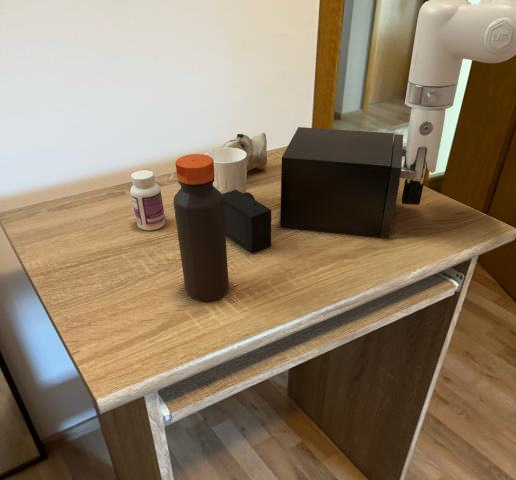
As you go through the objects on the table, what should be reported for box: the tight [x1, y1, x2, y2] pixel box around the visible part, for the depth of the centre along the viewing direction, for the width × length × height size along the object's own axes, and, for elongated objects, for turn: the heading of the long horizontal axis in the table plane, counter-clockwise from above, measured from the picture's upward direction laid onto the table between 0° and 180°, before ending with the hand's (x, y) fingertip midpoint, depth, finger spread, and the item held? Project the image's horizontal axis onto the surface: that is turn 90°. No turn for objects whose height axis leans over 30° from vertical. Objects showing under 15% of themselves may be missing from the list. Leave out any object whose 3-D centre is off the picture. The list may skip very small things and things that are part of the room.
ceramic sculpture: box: [221, 132, 268, 172], centre depth 107 cm, size 11×9×15 cm
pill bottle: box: [130, 169, 166, 231], centre depth 89 cm, size 5×5×10 cm
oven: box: [279, 126, 395, 238], centre depth 90 cm, size 18×16×13 cm
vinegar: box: [173, 153, 230, 302], centre depth 69 cm, size 7×7×20 cm
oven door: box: [379, 133, 417, 239], centre depth 88 cm, size 4×16×13 cm, turn 166°
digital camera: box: [222, 190, 272, 254], centre depth 85 cm, size 10×5×7 cm, turn 37°
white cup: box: [204, 147, 248, 194], centre depth 94 cm, size 8×8×10 cm
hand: (410, 202), depth 90 cm, fingers closed
